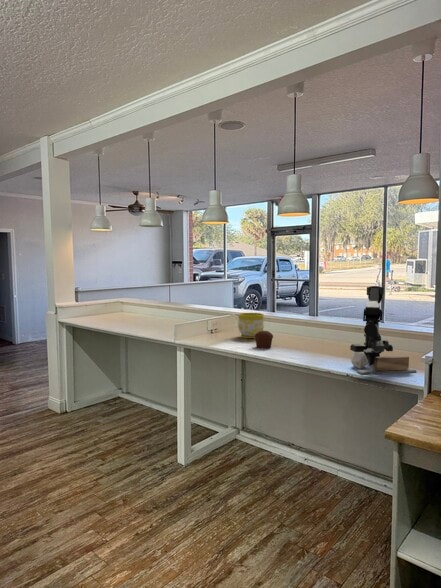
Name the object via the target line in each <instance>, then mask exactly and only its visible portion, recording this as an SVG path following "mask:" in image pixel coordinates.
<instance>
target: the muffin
mask: <svg viewBox="0 0 441 588" xmlns="http://www.w3.org/2000/svg"><path fill="white" fill-rule="evenodd" d="M273 338H274V335H273V333H271V332H270V331H268V330H263V331H259V332H257V333H256V334H255V339H254V340H255V345H256V348H258V349H262V348H264V349H271V347H272V342H273Z"/></svg>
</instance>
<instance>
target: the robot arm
mask: <svg viewBox="0 0 441 588" xmlns="http://www.w3.org/2000/svg"><path fill="white" fill-rule="evenodd" d="M366 295H367V299H368V302H367V303H365V308H364V309H363V316H362V319H363V320H362V322H365V326H364V328H363V331H364V334H363V336H364V342H363V345H362V344H360V343H353V344H351V345H350V346H349V349H350V351H352V352H354V353H355V352H364V354H365V355H366V357H367V360H368V362H369V363H368V364H369V365H368V366H370V367H373V366H374V361H375V358H376V357H381V355H380V354H382V353H384V352H385V351H386V352H394V346H393V344H390V343H389V342H390V341H389V340H384V339H383V340H382V336H381V334H380V332H379V331H380V330H379V327H380V323H381V322H382V321H383V316H384V314H383V313H384V311H383V309H382V308H381V302H382V301H383V298H384V297H383V296H385V287H383V286H380V285H376V284H374V285H369V286H367V287H366Z"/></svg>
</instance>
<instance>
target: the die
mask: <svg viewBox="0 0 441 588" xmlns="http://www.w3.org/2000/svg"><path fill="white" fill-rule="evenodd" d="M350 360H351V361H350V362H351V364H352V366H353V367H355V368H356V369H357V368H358V370H361V369H363V368H365V367H366V366H367V365H368V364H369V362H368V360H367V357H366V355H365V354H364V352H354V353H352V354H351V355H350ZM360 368H361V369H360Z"/></svg>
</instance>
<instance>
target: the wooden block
mask: <svg viewBox="0 0 441 588" xmlns="http://www.w3.org/2000/svg"><path fill="white" fill-rule="evenodd" d="M409 366H410V357H409V356H407V355H390V356H389V355H386V356H380V357H376V358H375V361H374V364H373V370H377V371H386V370H409V368H410V367H409Z"/></svg>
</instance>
